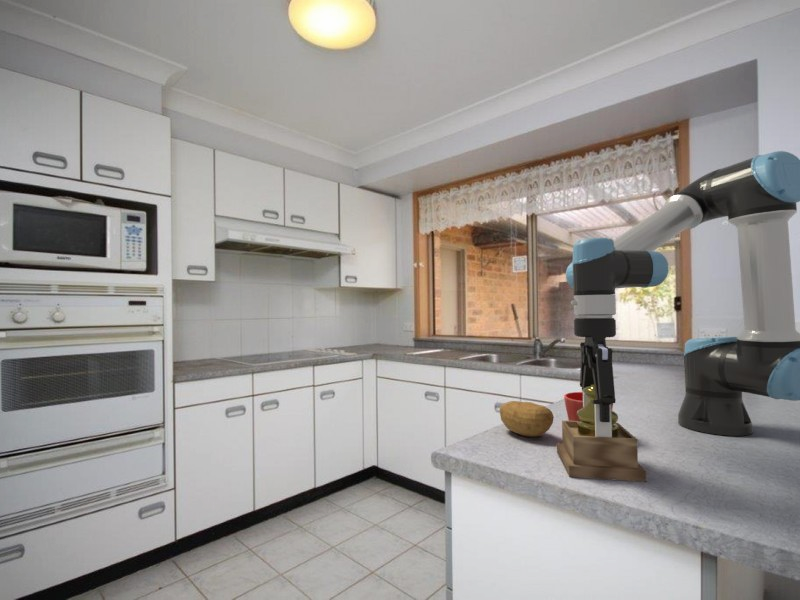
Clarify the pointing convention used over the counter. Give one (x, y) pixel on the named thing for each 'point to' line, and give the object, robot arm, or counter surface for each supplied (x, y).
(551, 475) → the counter surface
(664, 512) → the counter surface
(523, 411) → the potato
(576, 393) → the flower pot
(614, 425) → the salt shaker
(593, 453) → the brown wooden square box
